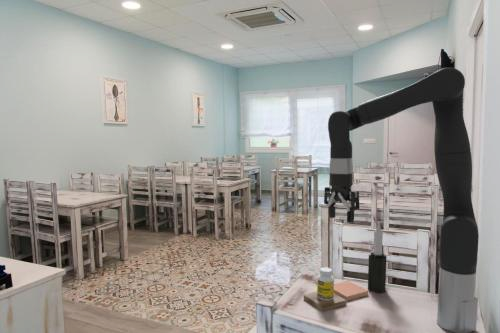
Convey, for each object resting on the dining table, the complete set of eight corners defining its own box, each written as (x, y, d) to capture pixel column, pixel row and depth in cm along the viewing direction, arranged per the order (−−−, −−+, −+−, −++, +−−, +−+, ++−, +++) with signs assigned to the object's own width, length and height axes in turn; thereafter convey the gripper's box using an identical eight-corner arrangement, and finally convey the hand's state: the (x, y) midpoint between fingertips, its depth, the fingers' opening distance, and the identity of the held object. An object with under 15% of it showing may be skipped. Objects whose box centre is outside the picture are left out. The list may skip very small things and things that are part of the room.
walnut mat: (346, 304, 120) (346, 300, 119) (322, 311, 115) (322, 306, 115) (326, 293, 128) (326, 288, 128) (303, 298, 124) (303, 294, 124)
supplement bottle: (315, 299, 120) (315, 270, 119) (319, 292, 125) (320, 265, 124) (331, 302, 118) (331, 273, 117) (335, 296, 122) (336, 268, 122)
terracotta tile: (368, 294, 127) (368, 290, 127) (346, 300, 122) (346, 296, 122) (348, 284, 136) (348, 280, 136) (327, 289, 131) (327, 285, 131)
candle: (366, 289, 131) (368, 222, 129) (373, 285, 135) (375, 220, 133) (379, 294, 127) (382, 224, 125) (386, 290, 131) (388, 222, 129)
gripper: (365, 172, 115) (365, 222, 116) (334, 169, 127) (334, 214, 129) (348, 174, 111) (347, 225, 113) (318, 170, 124) (318, 217, 125)
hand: (340, 219), depth 121 cm, fingers open, 8 cm apart
